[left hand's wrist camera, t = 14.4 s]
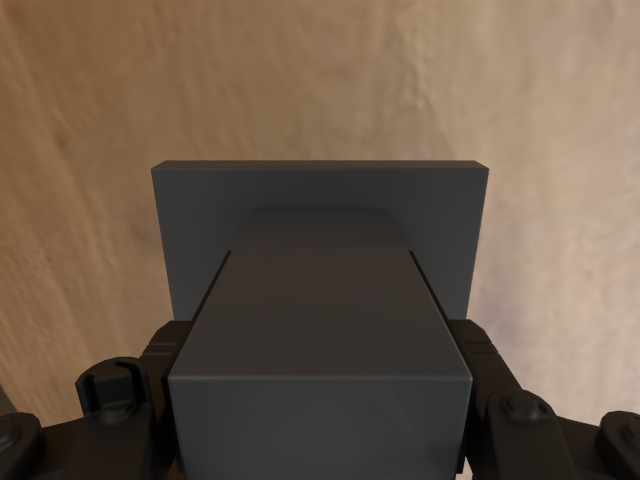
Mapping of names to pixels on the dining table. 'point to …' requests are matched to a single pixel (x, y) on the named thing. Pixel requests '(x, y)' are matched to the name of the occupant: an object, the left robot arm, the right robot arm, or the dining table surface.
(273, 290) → the lid
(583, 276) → the dining table surface
